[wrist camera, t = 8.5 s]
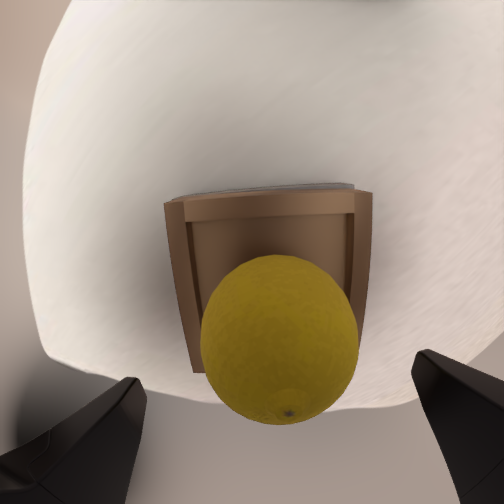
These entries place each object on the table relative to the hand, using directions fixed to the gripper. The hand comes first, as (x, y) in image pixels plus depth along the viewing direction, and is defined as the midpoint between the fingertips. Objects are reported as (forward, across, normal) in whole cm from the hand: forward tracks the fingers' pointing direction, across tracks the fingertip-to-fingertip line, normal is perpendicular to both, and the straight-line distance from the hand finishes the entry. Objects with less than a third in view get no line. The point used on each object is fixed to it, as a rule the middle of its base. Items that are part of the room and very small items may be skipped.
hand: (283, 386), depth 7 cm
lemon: (+7, 0, 0) cm, 7 cm away
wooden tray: (+8, 0, 0) cm, 9 cm away
